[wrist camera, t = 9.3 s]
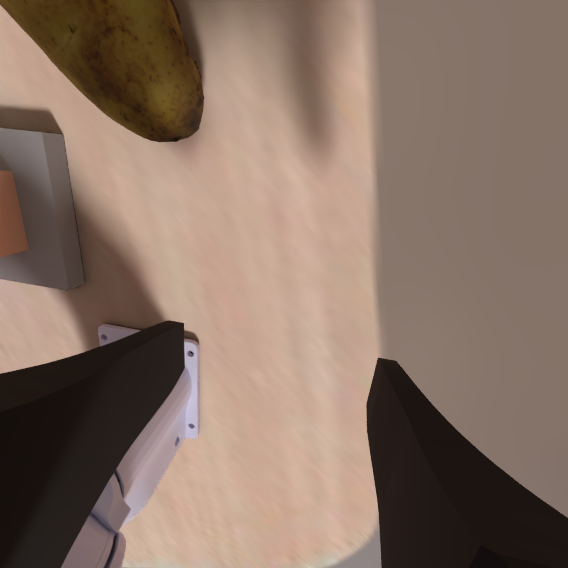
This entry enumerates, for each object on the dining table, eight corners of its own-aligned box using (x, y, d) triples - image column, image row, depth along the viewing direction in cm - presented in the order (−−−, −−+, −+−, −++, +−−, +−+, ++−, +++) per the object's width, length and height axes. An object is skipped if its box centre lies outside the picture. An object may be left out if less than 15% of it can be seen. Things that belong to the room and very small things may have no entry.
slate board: (84, 283, 23) (68, 290, 22) (-31, 263, 24) (-54, 269, 23) (63, 134, 19) (41, 132, 18) (-73, 120, 21) (-102, 117, 19)
